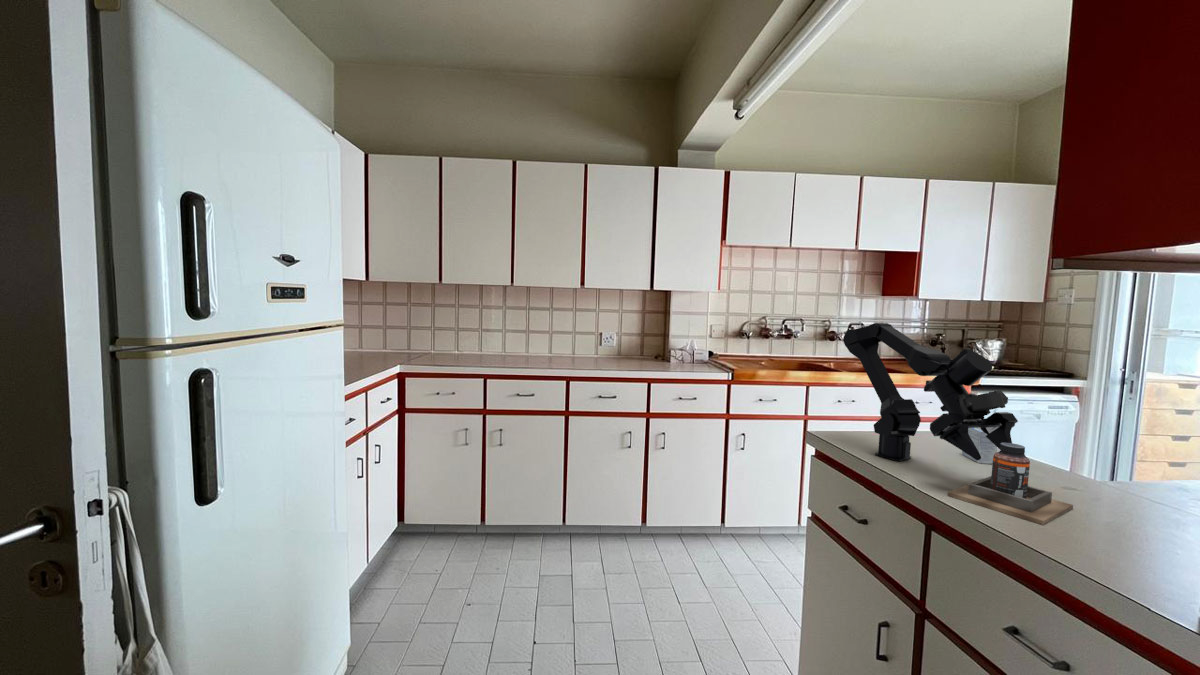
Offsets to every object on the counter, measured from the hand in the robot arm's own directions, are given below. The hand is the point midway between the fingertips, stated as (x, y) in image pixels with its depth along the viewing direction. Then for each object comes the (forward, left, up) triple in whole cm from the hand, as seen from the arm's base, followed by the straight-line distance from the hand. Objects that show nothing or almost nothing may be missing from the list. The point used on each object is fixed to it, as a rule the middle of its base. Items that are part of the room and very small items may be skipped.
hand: (996, 458), depth 107 cm
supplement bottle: (+3, -1, -8) cm, 8 cm away
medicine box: (-14, +29, -8) cm, 33 cm away
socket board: (+3, -1, -8) cm, 9 cm away
